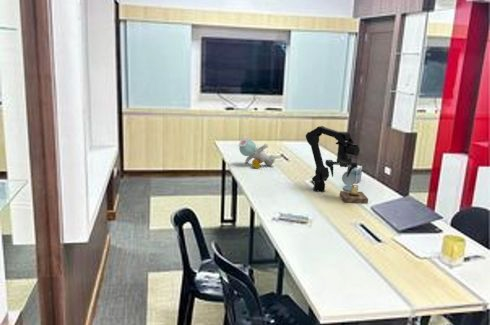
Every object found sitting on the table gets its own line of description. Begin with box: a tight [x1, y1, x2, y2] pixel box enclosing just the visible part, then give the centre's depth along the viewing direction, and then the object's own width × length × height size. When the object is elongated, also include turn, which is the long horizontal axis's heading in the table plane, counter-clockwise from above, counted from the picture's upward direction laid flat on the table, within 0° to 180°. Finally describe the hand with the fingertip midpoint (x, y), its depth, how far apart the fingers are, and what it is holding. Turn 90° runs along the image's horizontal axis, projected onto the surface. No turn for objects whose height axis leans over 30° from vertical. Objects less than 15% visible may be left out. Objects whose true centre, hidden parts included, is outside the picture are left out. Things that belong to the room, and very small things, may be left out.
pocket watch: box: [341, 171, 356, 191], centre depth 298 cm, size 10×11×15 cm
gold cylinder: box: [351, 184, 359, 196], centre depth 279 cm, size 4×4×9 cm
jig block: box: [339, 190, 369, 204], centre depth 279 cm, size 14×14×3 cm
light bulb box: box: [351, 164, 363, 184], centre depth 319 cm, size 11×7×11 cm, turn 149°
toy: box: [237, 137, 276, 170], centre depth 342 cm, size 32×18×30 cm
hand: (339, 176), depth 280 cm, fingers open, 9 cm apart
